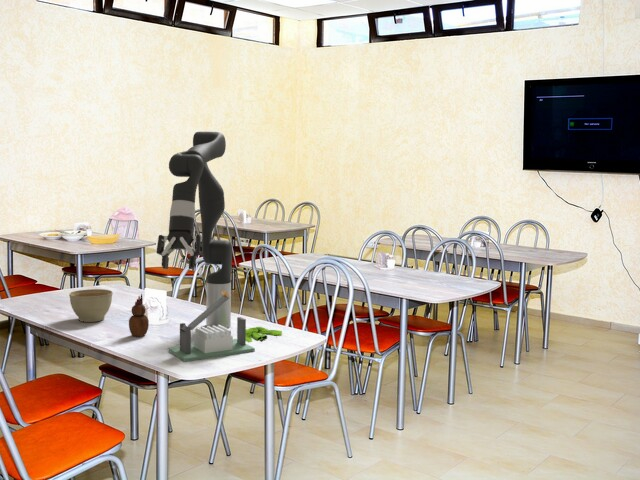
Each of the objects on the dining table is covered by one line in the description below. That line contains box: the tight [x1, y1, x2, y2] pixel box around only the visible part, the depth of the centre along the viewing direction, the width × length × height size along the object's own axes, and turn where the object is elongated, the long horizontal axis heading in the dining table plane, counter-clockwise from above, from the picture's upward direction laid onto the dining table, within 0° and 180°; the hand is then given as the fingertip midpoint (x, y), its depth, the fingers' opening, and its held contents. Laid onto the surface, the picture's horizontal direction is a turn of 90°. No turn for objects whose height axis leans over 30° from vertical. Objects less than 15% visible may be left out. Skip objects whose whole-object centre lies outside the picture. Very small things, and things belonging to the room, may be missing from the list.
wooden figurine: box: [128, 293, 150, 337], centre depth 254 cm, size 7×6×15 cm
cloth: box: [246, 326, 283, 343], centre depth 259 cm, size 20×22×2 cm
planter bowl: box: [68, 288, 113, 323], centre depth 276 cm, size 16×16×11 cm
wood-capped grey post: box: [181, 291, 229, 331], centre depth 234 cm, size 19×3×2 cm
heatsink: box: [168, 316, 256, 363], centre depth 237 cm, size 14×25×10 cm, turn 123°
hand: (178, 268), depth 215 cm, fingers open, 8 cm apart
